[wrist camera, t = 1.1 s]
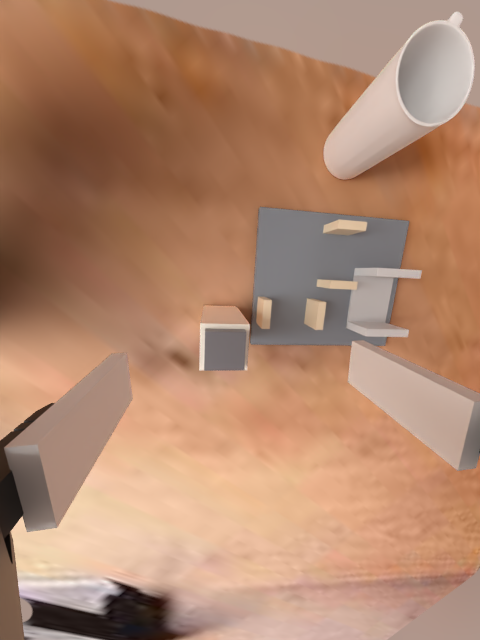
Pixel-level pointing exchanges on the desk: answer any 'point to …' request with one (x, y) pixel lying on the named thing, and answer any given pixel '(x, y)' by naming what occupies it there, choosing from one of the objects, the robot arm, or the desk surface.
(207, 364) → the block
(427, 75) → the mug
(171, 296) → the desk surface
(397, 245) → the board
